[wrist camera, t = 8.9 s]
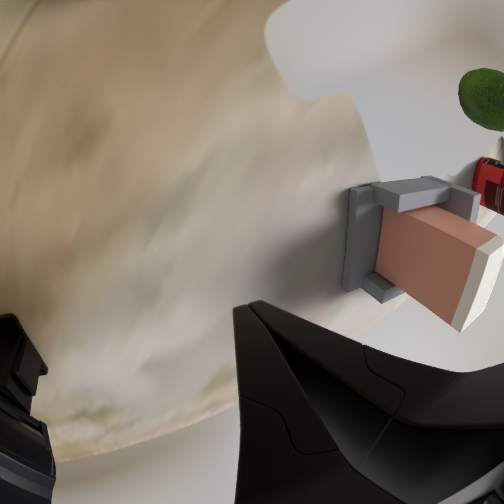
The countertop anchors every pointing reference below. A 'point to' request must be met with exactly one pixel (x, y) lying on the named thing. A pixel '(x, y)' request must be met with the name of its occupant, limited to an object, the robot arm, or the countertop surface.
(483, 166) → the canned food
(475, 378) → the robot arm
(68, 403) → the countertop surface
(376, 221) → the housing
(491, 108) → the avocado
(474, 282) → the pink white rectangular block
